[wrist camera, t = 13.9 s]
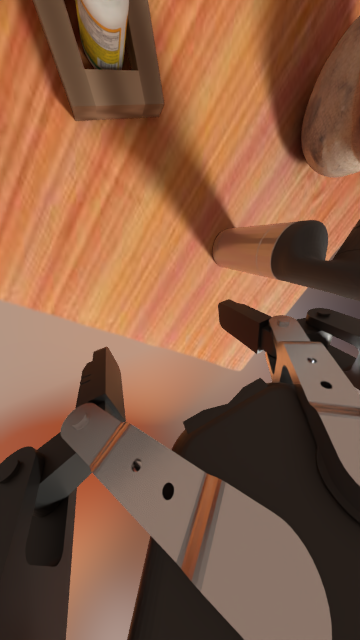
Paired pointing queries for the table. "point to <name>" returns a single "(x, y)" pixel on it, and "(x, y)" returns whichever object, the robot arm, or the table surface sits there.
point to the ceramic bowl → (335, 111)
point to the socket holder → (106, 85)
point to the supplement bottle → (103, 31)
